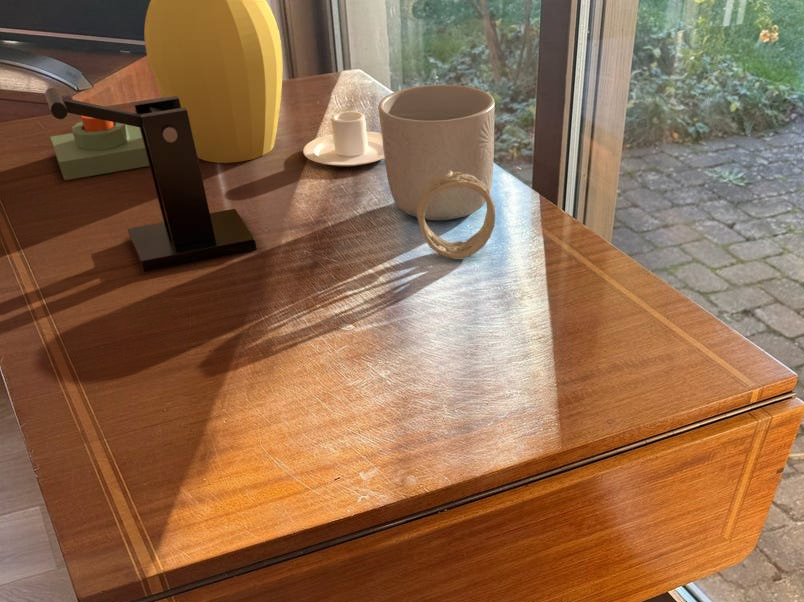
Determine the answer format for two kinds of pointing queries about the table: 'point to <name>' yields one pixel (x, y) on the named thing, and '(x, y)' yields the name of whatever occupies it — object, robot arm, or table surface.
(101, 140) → the control block
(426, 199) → the bracelet
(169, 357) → the table surface
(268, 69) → the vase
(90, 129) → the button
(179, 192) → the bracket
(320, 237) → the table surface
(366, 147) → the candle holder
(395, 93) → the planter
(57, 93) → the lever
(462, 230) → the table surface
